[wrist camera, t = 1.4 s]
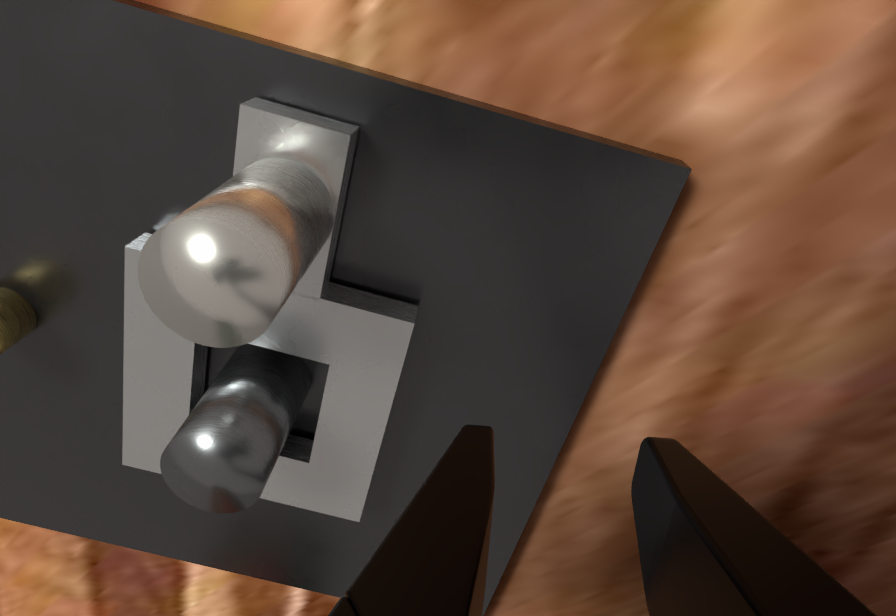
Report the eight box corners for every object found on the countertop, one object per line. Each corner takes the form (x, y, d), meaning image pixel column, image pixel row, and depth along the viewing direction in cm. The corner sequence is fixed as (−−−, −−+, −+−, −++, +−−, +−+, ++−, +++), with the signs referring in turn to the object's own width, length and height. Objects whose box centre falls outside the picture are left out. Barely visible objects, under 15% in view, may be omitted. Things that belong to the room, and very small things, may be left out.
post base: (477, 609, 28) (473, 751, 23) (5, 497, 27) (-114, 621, 22) (681, 160, 18) (759, 230, 13) (-59, -56, 17) (-313, -78, 12)
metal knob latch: (365, 498, 24) (326, 652, 18) (139, 443, 23) (28, 584, 18) (460, 155, 17) (444, 233, 12) (150, 67, 17) (-20, 103, 11)
